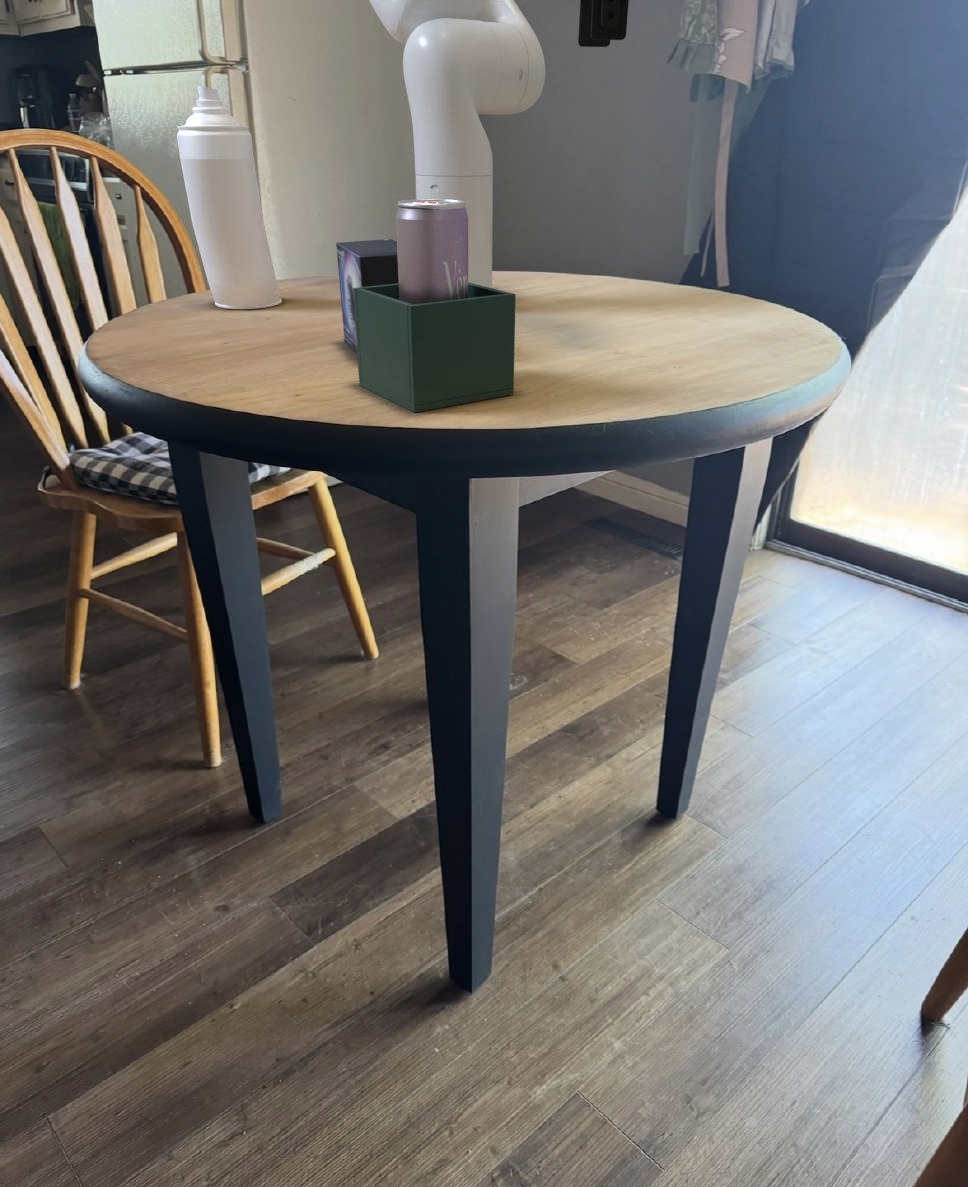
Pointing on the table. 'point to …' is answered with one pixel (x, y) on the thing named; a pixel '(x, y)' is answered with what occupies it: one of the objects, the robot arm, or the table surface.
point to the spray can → (226, 206)
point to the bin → (435, 346)
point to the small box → (363, 275)
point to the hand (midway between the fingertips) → (600, 43)
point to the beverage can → (432, 250)
